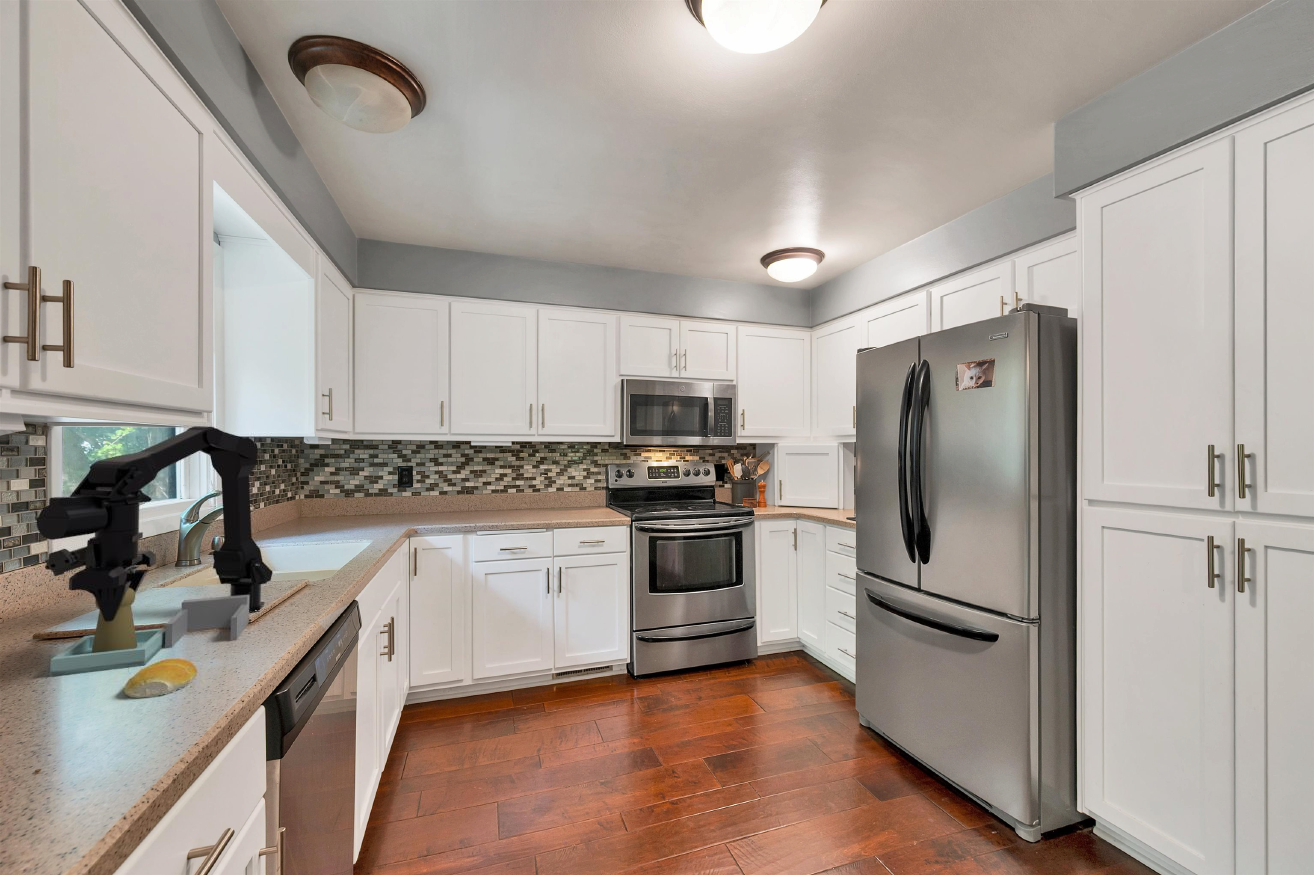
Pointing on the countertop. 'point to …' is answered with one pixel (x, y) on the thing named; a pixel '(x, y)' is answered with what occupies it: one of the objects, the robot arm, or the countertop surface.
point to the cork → (116, 628)
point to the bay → (209, 617)
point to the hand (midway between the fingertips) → (115, 616)
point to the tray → (107, 654)
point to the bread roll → (160, 678)
